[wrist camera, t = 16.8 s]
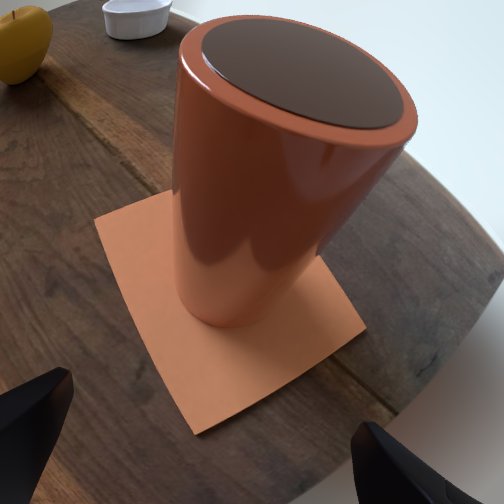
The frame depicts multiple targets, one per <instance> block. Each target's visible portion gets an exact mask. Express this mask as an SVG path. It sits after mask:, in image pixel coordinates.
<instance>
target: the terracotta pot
mask: <svg viewBox="0 0 504 504" xmlns="http://www.w3.org/2000/svg"><path fill="white" fill-rule="evenodd" d="M417 125H418V115H417V110H416V107H415V104H414V102H413V100H412V98H411V96H410V94H409V93H408V91H407V90H406V88H405V87H404V85H403V84H402V83H401V82H400V81H399V80H398V78H397V77H396V76H395V75H394V74H393V73H392V72H391V71H390V70H389V69H388V68H387V67H385V66H384V65H383V64H382V63H381V62H380V61H378V60H377V59H376V58H374V57H373V56H372V55H370V54H369V53H367V52H366V51H364V50H363V49H361V48H360V47H358V46H356V45H354V44H353V43H351V42H349V41H347V40H345V39H344V38H342V37H340V36H337V35H335V34H333V33H331V32H328V31H326V30H323V29H321V28H318V27H315V26H312V25H309V24H305V23H302V22H298V21H294V20H290V19H284V18H279V17H272V16H260V15H237V16H228V17H222V18H217V19H213V20H210V21H207V22H204V23H202V24H200V25H198V26H196V27H195V28H193V29H192V30H190V31H189V32H188V33H187V34H186V35H185V37H184V38H183V40H182V42H181V44H180V47H179V51H178V62H177V74H176V89H175V106H174V127H173V162H172V225H173V260H174V280H175V287H176V290H177V293H178V295H179V298H180V300H181V301H182V303H183V304H184V306H185V307H186V308H187V309H188V311H190V312H191V313H192V314H193V315H194V316H195V317H197V318H198V319H199V320H201V321H203V322H205V323H207V324H210V325H212V326H216V327H220V328H228V329H229V328H241V327H245V326H248V325H251V324H253V323H255V322H257V321H259V320H260V319H262V318H263V317H264V316H265V315H267V314H268V312H269V311H270V310H271V309H272V308H273V307H274V306H275V305H276V304H277V302H278V301H279V300H280V299H281V298H282V297H283V296H284V294H285V293H286V292H287V291H288V290H289V289H290V288H291V287H292V285H293V284H294V283H295V282H296V281H297V280H298V278H299V277H300V276H301V275H302V274H303V273H304V272H305V270H306V269H307V268H308V267H309V266H310V265H311V263H312V262H313V261H314V260H315V259H316V258H317V256H318V255H319V254H320V253H321V252H322V250H323V249H324V248H325V247H326V246H327V245H328V243H329V242H330V241H331V240H332V239H333V237H334V236H335V235H336V234H337V233H338V231H339V230H340V229H341V228H342V226H343V225H344V224H345V223H346V222H347V220H348V219H349V218H350V217H351V215H352V214H353V213H354V212H355V211H356V209H357V208H358V207H359V206H360V204H361V203H362V202H363V201H364V199H365V198H366V197H367V196H368V194H369V193H370V192H371V191H372V189H373V188H374V187H375V186H376V184H377V183H378V182H379V180H380V179H381V178H382V177H383V175H384V174H385V173H386V171H387V170H388V169H389V168H390V166H391V165H392V164H393V162H394V161H395V160H396V158H397V157H398V156H399V155H400V153H401V152H402V151H403V149H404V148H405V147H406V145H407V144H408V143H409V141H410V140H411V139H412V137H413V136H414V134H415V132H416V129H417Z"/></svg>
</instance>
